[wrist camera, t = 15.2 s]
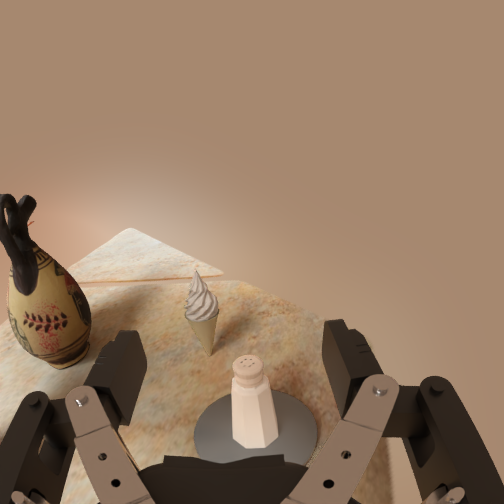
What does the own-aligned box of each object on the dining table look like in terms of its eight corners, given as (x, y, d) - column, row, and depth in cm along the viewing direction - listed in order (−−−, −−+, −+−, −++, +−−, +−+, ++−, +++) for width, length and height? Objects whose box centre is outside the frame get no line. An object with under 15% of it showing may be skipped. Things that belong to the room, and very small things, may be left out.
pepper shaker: (225, 422, 32) (210, 353, 28) (267, 408, 34) (263, 338, 30) (241, 456, 27) (228, 391, 23) (288, 439, 29) (288, 371, 25)
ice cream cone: (207, 370, 43) (189, 280, 38) (187, 355, 46) (169, 269, 41) (232, 354, 46) (220, 266, 41) (212, 341, 50) (198, 258, 44)
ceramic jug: (43, 334, 51) (0, 192, 41) (107, 326, 55) (69, 173, 44) (19, 388, 36) (-51, 213, 25) (94, 384, 39) (30, 186, 29)
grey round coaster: (175, 431, 32) (172, 424, 32) (261, 381, 40) (260, 373, 40) (247, 509, 22) (246, 505, 21) (340, 434, 30) (342, 427, 29)
